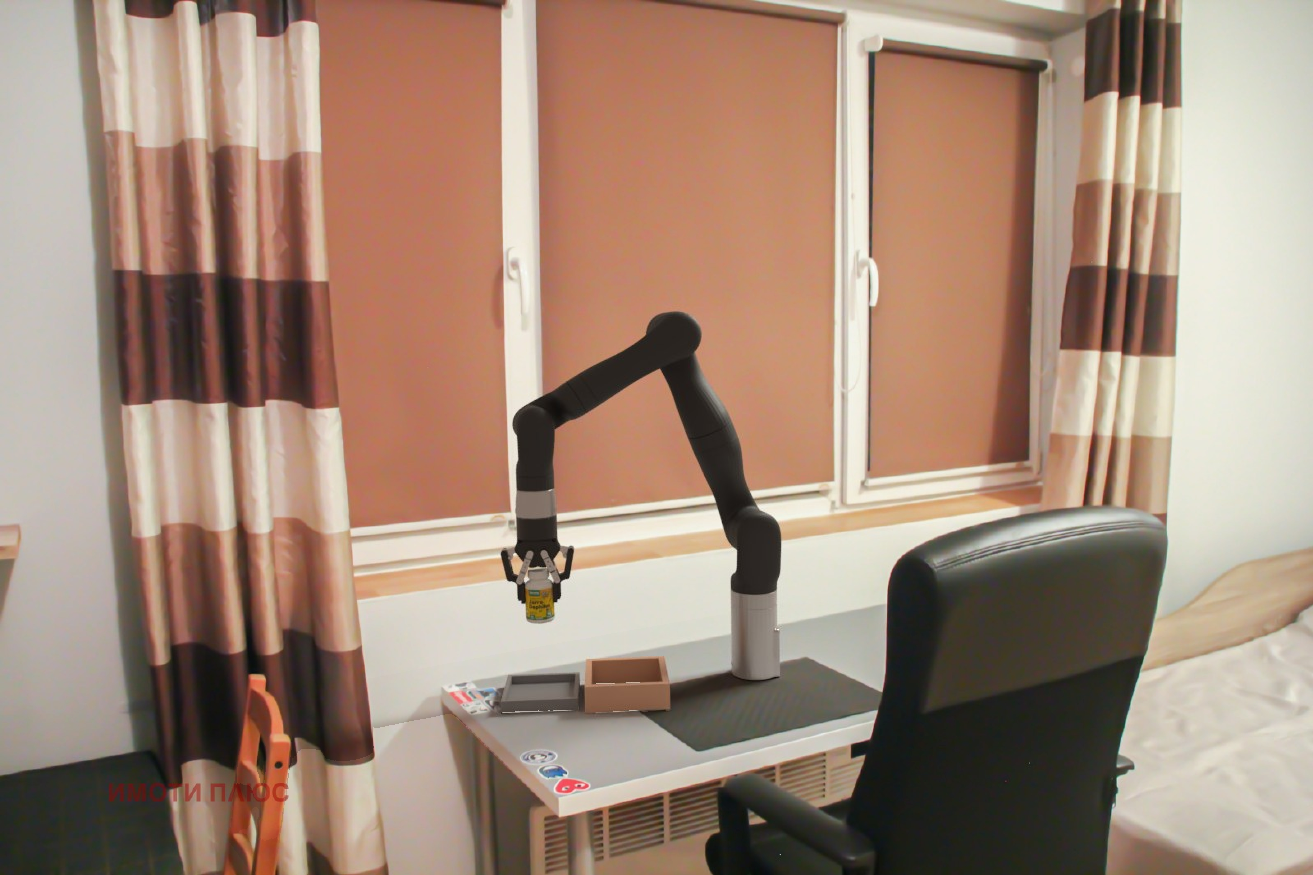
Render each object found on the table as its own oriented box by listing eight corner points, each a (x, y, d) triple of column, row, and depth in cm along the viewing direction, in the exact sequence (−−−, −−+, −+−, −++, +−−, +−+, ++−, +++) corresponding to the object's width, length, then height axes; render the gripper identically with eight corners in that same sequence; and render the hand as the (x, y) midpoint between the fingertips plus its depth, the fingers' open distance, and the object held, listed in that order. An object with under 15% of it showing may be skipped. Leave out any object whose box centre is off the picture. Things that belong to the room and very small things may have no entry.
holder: (664, 680, 189) (664, 656, 188) (670, 710, 174) (669, 683, 173) (586, 683, 188) (585, 659, 188) (585, 713, 173) (584, 687, 172)
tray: (580, 683, 188) (579, 672, 188) (578, 710, 174) (578, 698, 174) (508, 686, 188) (508, 675, 187) (501, 713, 174) (500, 701, 173)
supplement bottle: (554, 615, 182) (552, 565, 182) (555, 623, 177) (553, 572, 176) (525, 616, 182) (524, 567, 181) (525, 625, 176) (524, 574, 176)
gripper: (575, 508, 182) (578, 595, 183) (499, 510, 181) (502, 598, 183) (574, 515, 174) (577, 606, 176) (495, 518, 173) (498, 609, 175)
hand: (539, 601), depth 179 cm, fingers closed on supplement bottle, 5 cm apart
